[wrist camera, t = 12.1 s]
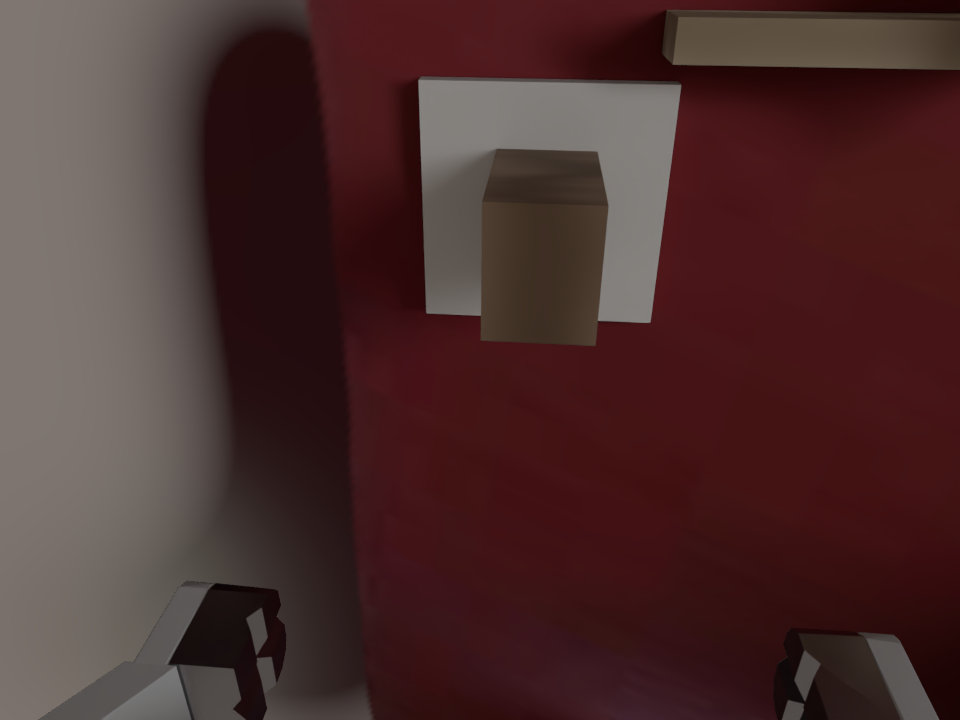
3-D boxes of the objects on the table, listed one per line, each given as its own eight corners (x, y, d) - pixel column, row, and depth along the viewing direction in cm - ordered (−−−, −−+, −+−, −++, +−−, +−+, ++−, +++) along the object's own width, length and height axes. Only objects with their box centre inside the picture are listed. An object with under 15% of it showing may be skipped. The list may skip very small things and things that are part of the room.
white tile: (648, 315, 34) (650, 322, 33) (428, 305, 34) (426, 313, 34) (678, 81, 29) (681, 84, 28) (421, 76, 29) (418, 79, 29)
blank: (597, 151, 30) (608, 205, 23) (587, 268, 32) (595, 345, 26) (496, 148, 30) (481, 201, 24) (494, 265, 32) (480, 340, 26)
